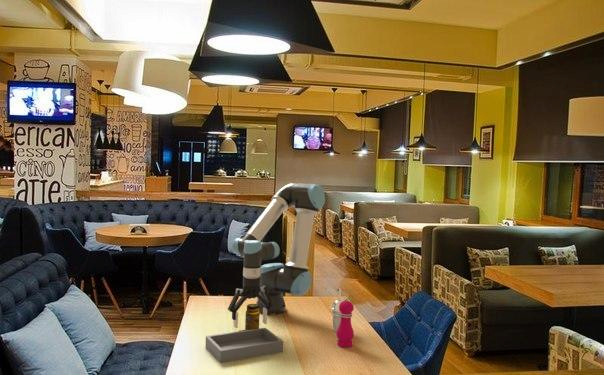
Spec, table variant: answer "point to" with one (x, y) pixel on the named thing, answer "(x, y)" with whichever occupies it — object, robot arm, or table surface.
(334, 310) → the cup with straw
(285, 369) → the table surface
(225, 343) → the tray
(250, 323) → the condiment
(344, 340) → the pepper mill
